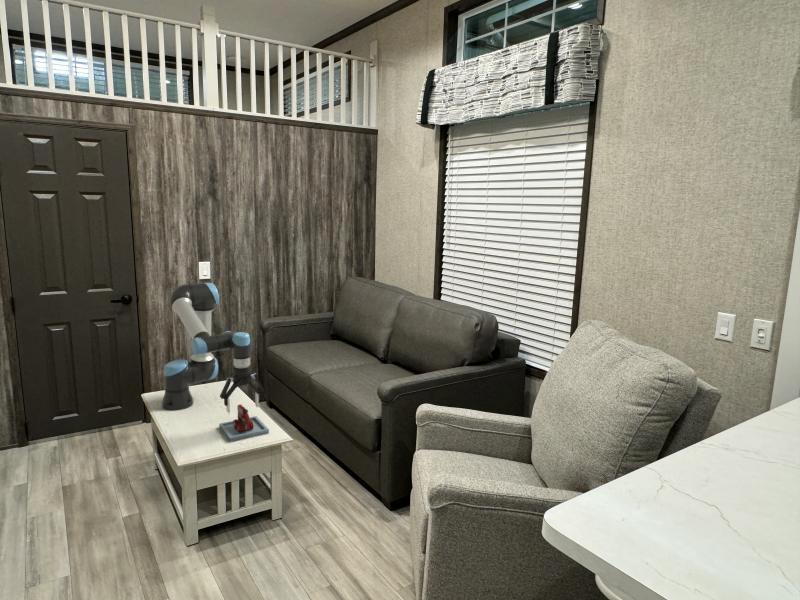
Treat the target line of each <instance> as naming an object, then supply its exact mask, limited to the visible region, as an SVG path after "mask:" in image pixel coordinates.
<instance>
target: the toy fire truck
mask: <svg viewBox="0 0 800 600" xmlns="http://www.w3.org/2000/svg"><path fill="white" fill-rule="evenodd" d="M236 408H237V419H233V420H232V421H233V425H234V428H237V430H238V432H242V430H244V429H246V430H251V429H253V427H254V425H253V422H252V421H250V420H249V417H250V415H249V410H248V409H246V408H245V407H244V406H243V405H242V404H238V405H237V407H236Z"/></svg>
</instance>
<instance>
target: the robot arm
mask: <svg viewBox="0 0 800 600" xmlns="http://www.w3.org/2000/svg"><path fill="white" fill-rule="evenodd" d="M219 302H220V295H219V292H218V289H217V286H216V285H215V284H214V283H212V282H200V283H199V282H198V283H187V284H181V285H179V286H177V287H175V289H174V290H173V291H172V292H171V294H170V296H169V305H170V308H171V310H172V311H173V312H174V313H176V314H177V316H178V318H179V319H180V320H181V322H182V324H183V326H184V328H185V329H186V330H187V333H188V334H189V336H190V338H191V341H190V349H191V351H192V353H193V354H192V355H191V356H190V361H189V360H187V359H183V358H180V359H175V360H172V361H169V362H167V363H166V364H165V365H164V366H163V378H164V379H163V381H164V382H163V383H164V394H163V398H162V401H161V407H162V408H163V409H164V410H168V411H178V410H179V411H180V410H184V409H188V408H190V407H191V406H193V404H194V398H193V395H192V393H191V391H190V384H196V383H200V382H205V381H207V382H208V381H210V380H213V379H215V378H217V375H218V373H219V362H218V359H217V358H216V357H215V355H214V354H213V353H215V352H222V351H227V350H231V351H232V357H233V358H232V360H233V361H232V362H233V363H232V364H233V368H232V369H233V377H229V376H227V377H226V381H225V383H224V385H223V389H222V390H221V393H219V394H220V395H219V397H220V399H221V400H223V403H224V406H225V407H226V412H227V413H228V414H230V413H231V403H230V397H231V396H232V394H233V393H234V391H235V390H236V388H238V387H242V386H246V385H249V386H250V387H251V388H252V389H253V391H256V392H254V403H255V404H254V405H255V407H256V408H259V406H260V404H259V403H260V402H259V401H260V400H261V398H262V397H261V394H262V393H264V392H265V388H264V387H263V385H262V383H261V382H260V379H259V377H258V374H257V373H256V372H253V373H252V374H251V366H250V365H251V338H250V334H249V333H248V332H244V331H239V332H234V331H230V330H225V331H224V332H222V333H221V334H215V335H212V312H214V310H215V306H216V305H218V304H219ZM251 379H253V380H254V381H255V383H256V384H257V386H258V387H257V386H256V385H254V384H253V383H252V382H251V381H250V380H251ZM232 382H233V383H232ZM231 383H232V385H231ZM258 388H259V389H258Z"/></svg>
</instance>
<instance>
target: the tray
mask: <svg viewBox="0 0 800 600" xmlns="http://www.w3.org/2000/svg"><path fill="white" fill-rule="evenodd" d="M249 420H250V421H252V422H253V425H254V427H253V429H251V430H246V429H244V430H242V432H238V430H237V428H234V425H233V421H234V420H231V421H229V420H228V421H226V422H221V423H218V424H219V425H218V428H219V429H220V431H221V432H222V433H223V434H224V436H225V437H226V439H228V441H229V442H230V443H233V442H237V441H241V440H246V439H250V437H251V438H254V436H255V437H258V436H259V435H260V436H264V435H268V433H269V434H270V429H269V428H268V427H267V426H266V424H264V423H263V421H261V420H260V418H259V417H258V416H257V415H256V416H255V415H254V416H251V417H250V416H249ZM263 434H264V435H263Z"/></svg>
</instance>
